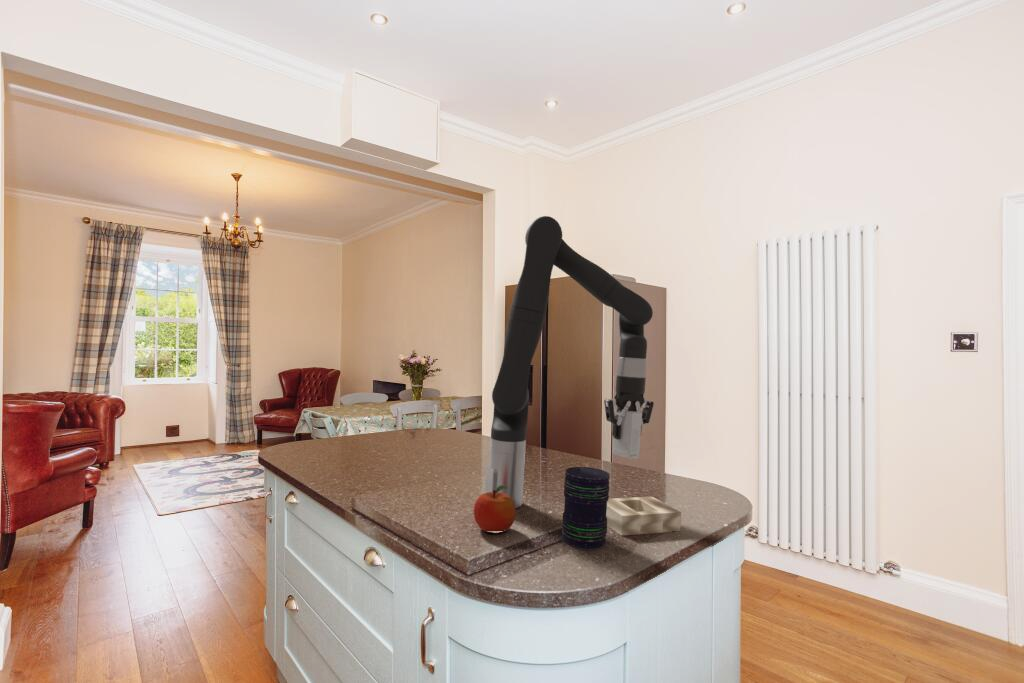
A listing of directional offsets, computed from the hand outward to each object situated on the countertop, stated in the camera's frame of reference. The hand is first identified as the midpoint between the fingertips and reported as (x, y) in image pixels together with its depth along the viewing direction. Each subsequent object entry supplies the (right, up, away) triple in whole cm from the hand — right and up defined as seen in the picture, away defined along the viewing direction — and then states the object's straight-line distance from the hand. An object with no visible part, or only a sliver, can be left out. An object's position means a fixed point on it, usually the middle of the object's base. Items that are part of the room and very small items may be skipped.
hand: (626, 438), depth 133 cm
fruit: (-35, -17, -20) cm, 43 cm away
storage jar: (-15, -18, -23) cm, 32 cm away
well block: (0, -19, -10) cm, 21 cm away
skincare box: (-1, -5, 0) cm, 5 cm away
